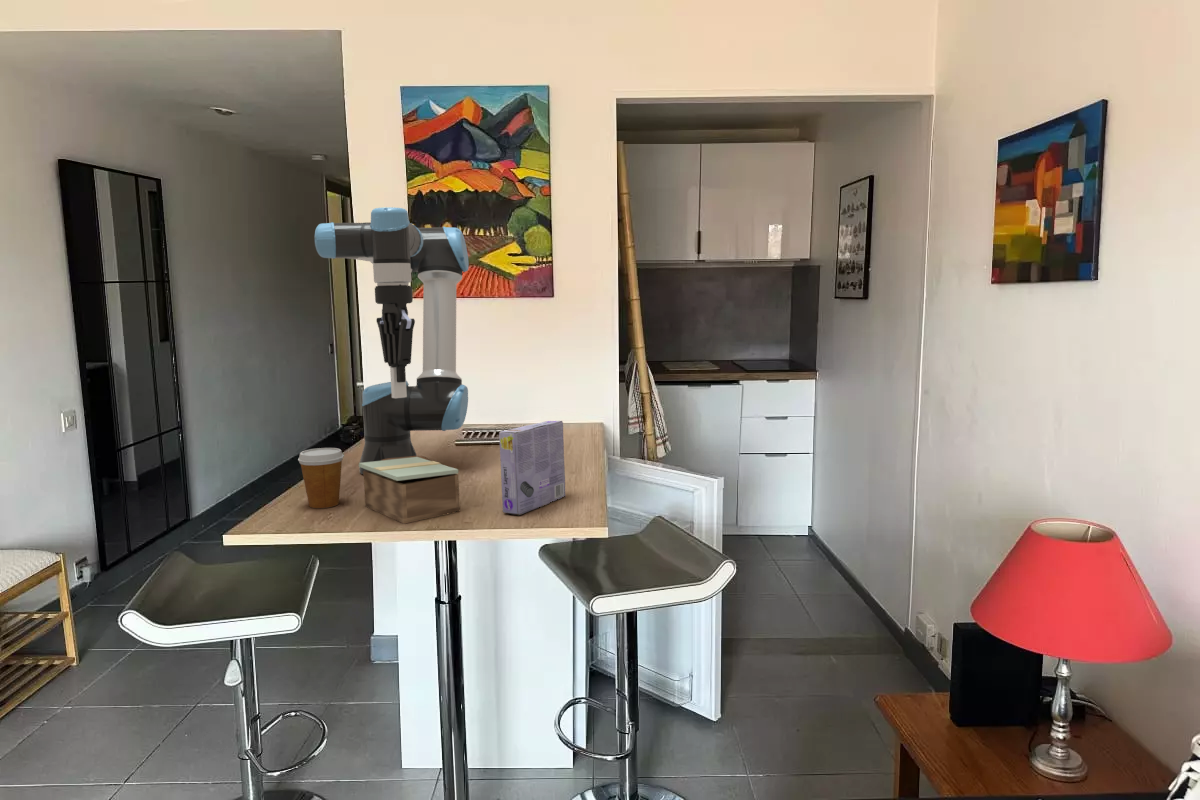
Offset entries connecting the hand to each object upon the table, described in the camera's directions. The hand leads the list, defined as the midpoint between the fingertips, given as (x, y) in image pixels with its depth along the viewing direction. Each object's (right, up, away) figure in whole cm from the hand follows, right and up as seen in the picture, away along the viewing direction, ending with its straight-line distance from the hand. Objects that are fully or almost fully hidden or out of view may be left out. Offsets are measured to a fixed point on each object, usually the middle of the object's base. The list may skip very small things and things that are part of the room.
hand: (399, 397), depth 167 cm
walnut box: (+2, -24, +4) cm, 24 cm away
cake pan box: (+28, -24, +6) cm, 37 cm away
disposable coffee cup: (-19, -24, +9) cm, 32 cm away
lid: (+1, -16, +2) cm, 16 cm away
